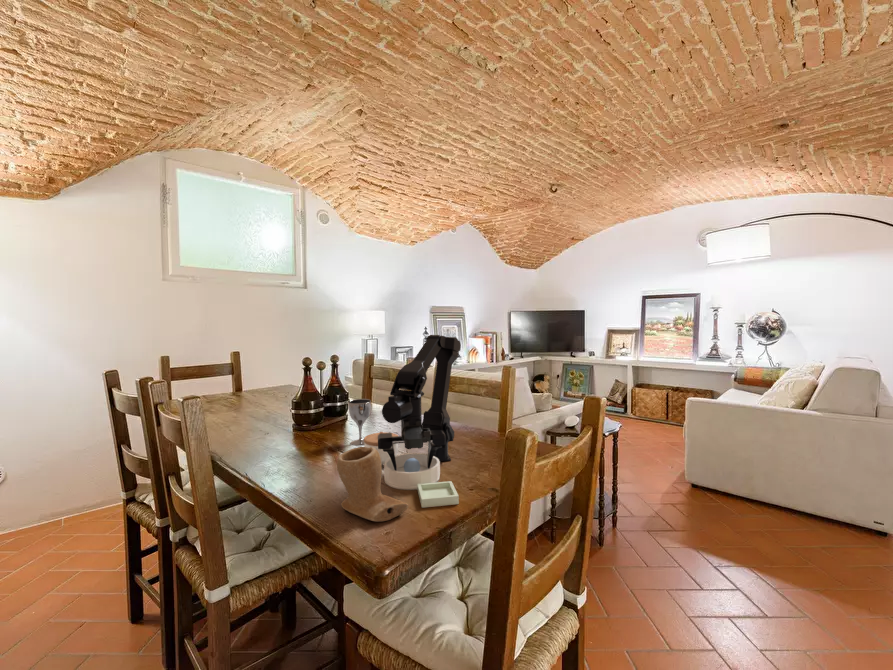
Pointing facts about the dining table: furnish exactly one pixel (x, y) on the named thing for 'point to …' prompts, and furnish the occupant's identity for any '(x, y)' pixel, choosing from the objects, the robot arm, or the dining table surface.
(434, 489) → the tray
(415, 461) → the ball
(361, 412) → the wine glass
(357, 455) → the tan boot vase
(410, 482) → the bowl
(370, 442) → the lidded jar
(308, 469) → the dining table surface
